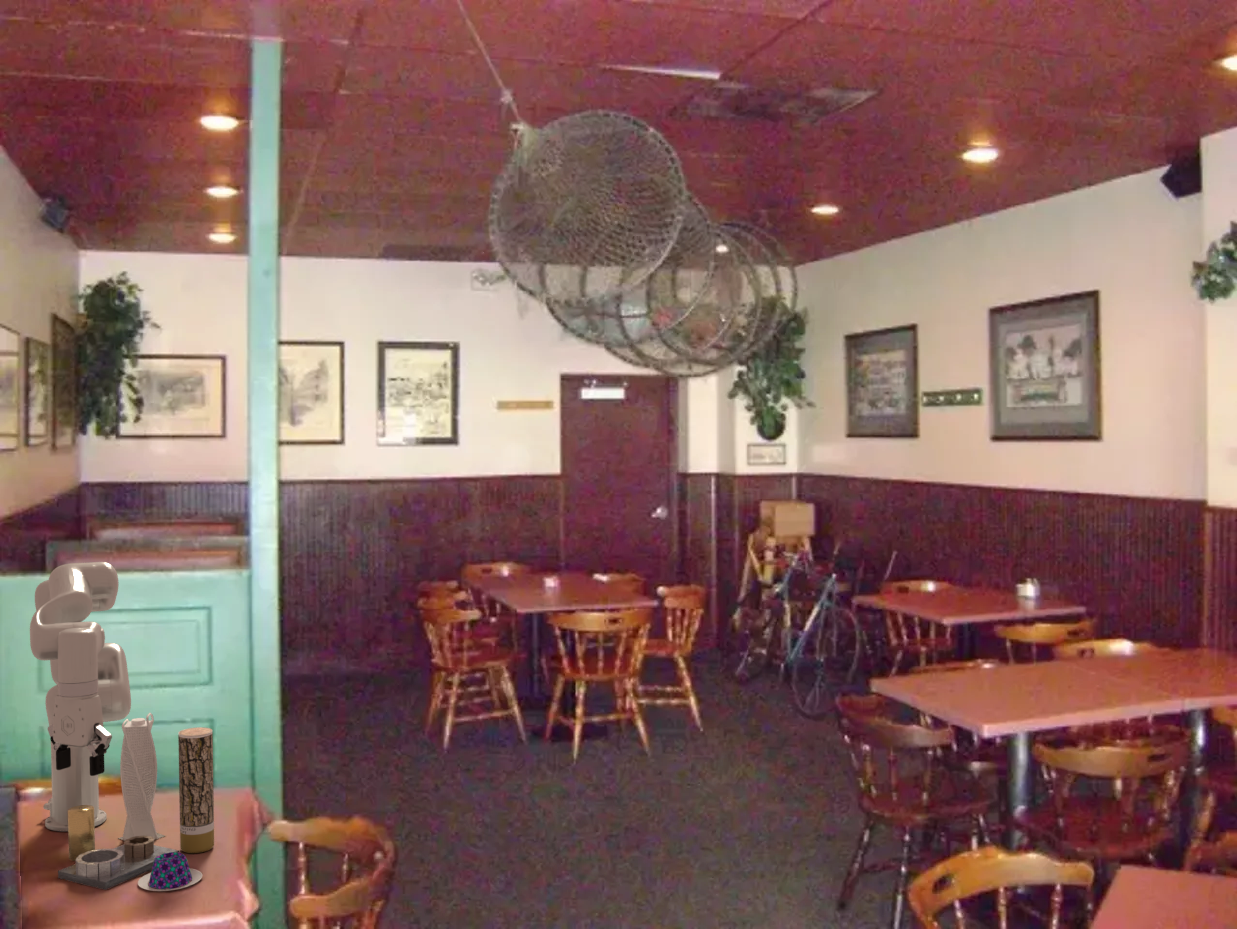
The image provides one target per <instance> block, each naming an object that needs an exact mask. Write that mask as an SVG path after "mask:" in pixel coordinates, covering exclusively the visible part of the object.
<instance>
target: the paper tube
mask: <svg viewBox="0 0 1237 929" xmlns="http://www.w3.org/2000/svg"><path fill="white" fill-rule="evenodd" d="M213 734H214V733H213V729H212V728H210V727H201V726H199V727H189V728H185V729H182V730H181V729H180V730H179V731H178V735H177V736H178V740H177V741H178V742H177V743H178V787H179V788H178V790H179V791H178V793H179V800H178V801H179V832H180V833H179V842H180V844H179V846H180V850H181V851H182V852H183V853H186V854H201V853H204V852H208V851H210V850H211V849H213V848H214V845H215V811H214V810H215V809H214V808H215V804H214V802H215V799H214V796H215V794H214V742H213V741H214V738H213V736H214V735H213Z"/></svg>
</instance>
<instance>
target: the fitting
mask: <svg viewBox="0 0 1237 929" xmlns="http://www.w3.org/2000/svg"><path fill="white" fill-rule="evenodd" d="M67 832H68V836H67V839H68V842H67V843H68V859H69V860H70V861H73V862H76V858H77V857H78V856H79V855H80V854H83V853H85V852H88V851H92V850H96V843H95V842H96V840H95V839H96V838H95V837H96V835H95V832H96V831H95V827H94V807H93V806H91V805H80V806H75V807H72V808H70V809H68V831H67Z"/></svg>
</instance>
